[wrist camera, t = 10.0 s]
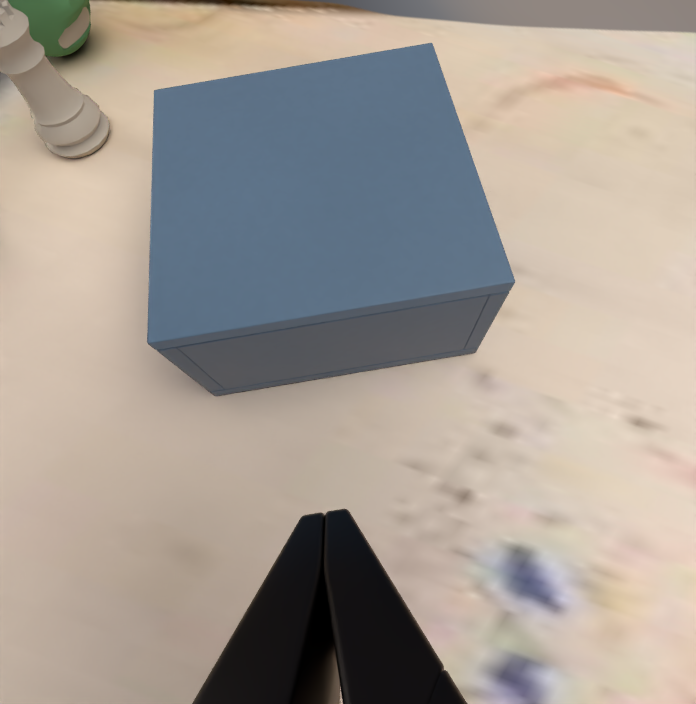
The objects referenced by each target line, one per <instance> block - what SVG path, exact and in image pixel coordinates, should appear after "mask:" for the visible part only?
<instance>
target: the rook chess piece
mask: <svg viewBox="0 0 696 704" xmlns="http://www.w3.org/2000/svg"><path fill="white" fill-rule="evenodd" d="M0 72H2V73H4V74H7V75H8V77H9V78H10V79H11V80H12V81H13V83H14V84H15V85H16V87H17V89H18V90H19V92H20V93H21V95H22V96H23V98H24V99H25V101H26V102H27V104H28V106H29V108H30V111H31V117H32V118H33V119H34V127H35V131H36V133H37V135H38V136H39V137H40V138H41V139H42V140H43V141H44V142H46V147H47V148H48V149H49V150H50V151H51V152H52V153H54V154H57V155H60V156H64V157H67V158H81V157H84V156H87V155H90V154H92V153H93V152H95V151H96V150H98V149H99V148H100V147H101V146H102V145H103V144H104V143H105V141H106V140H107V137H108V133H109V121H108V117H107V116H106V115H105V114H104V113H103V112H102V111H100V109H99V106H98V105H97V104H96V103H95V102H94V101H93V100H92V99H91V98H90V97H89V96H87V95H84V94H82V93H81V92H80V91H79V90H78V89H77V88H73V87H72V86H71V85H69V84H68V83H67V81H66V80H65V79H64V78H63V77H62V76H61V75H60V74H59V72H58V71H57V70H56V69H55V68H54V67H53V66H52V64H51V63H50V61H49V60H48V59H47V57H46V56H45V52H44V47H43V46H42V45H41V44H40V43H38V42H36V41H34V40H33V39H32V37H31V36H30V34H29V22H28V17H27V16H26V15H25V14H24V13H23V12H21V11H19V10H17V9H15V8H13V7H12V6H11V5H10V4H9V2H8V1H7V0H0Z"/></svg>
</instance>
